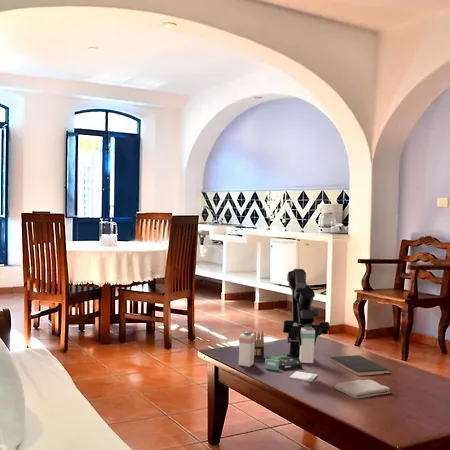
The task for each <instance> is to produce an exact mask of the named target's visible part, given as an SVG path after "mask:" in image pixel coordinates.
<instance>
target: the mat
mask: <svg viewBox="0 0 450 450" xmlns="http://www.w3.org/2000/svg"><path fill="white" fill-rule="evenodd" d="M317 377H318V374H317V373H316V374H315V373H311V372H310V373H309V372H304V371H300V370H299V371H298V370H296V371H295V372H293V374H291V375H290V376H289V379H291V380H296V381H297V380H298V381H304V382H311V383H312V382H313V381H314V380H315V379H316V378H317Z"/></svg>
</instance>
